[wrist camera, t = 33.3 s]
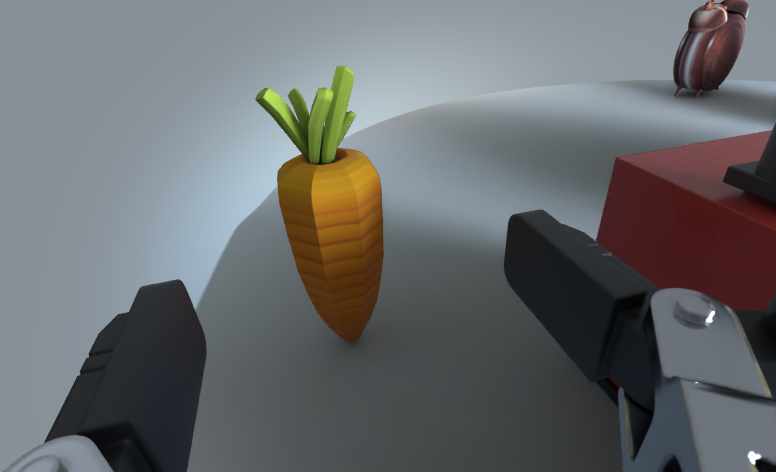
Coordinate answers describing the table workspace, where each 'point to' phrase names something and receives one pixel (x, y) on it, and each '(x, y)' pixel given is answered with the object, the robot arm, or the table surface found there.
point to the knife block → (692, 224)
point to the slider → (757, 173)
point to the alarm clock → (710, 45)
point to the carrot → (330, 206)
